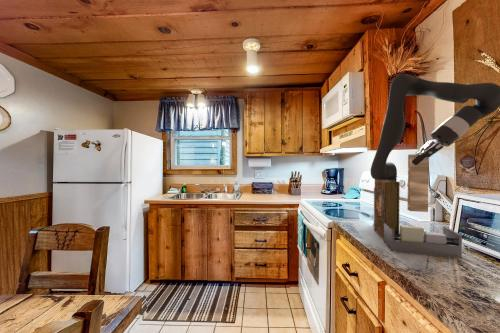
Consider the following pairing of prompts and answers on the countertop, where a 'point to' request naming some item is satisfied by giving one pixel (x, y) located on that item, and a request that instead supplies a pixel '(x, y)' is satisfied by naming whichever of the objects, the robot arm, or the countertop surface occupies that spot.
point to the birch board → (418, 184)
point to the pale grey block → (434, 238)
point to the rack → (425, 244)
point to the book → (386, 205)
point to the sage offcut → (411, 234)
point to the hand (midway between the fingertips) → (412, 163)
